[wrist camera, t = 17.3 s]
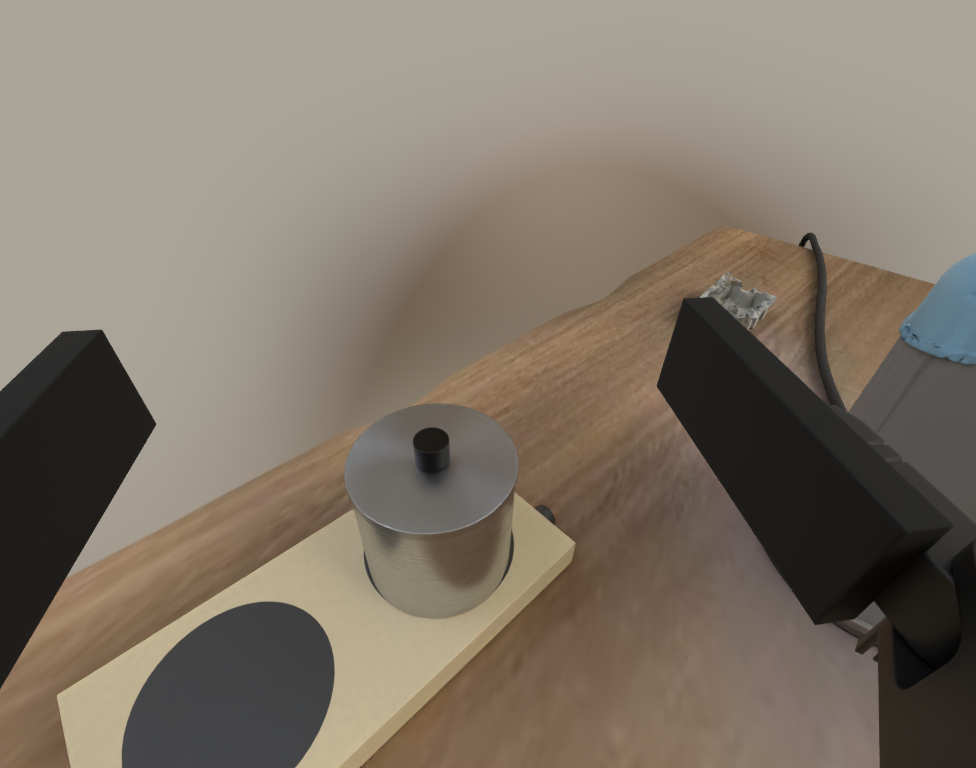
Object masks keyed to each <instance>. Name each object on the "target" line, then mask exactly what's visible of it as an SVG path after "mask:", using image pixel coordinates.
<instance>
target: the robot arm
mask: <svg viewBox="0 0 976 768" xmlns="http://www.w3.org/2000/svg"><path fill="white" fill-rule="evenodd" d="M808 240H810V243H811V246H812V249H813V251H814V253H815V256H816V260H817V266H818V296H817V304H816V317H815V344H816V355H817V362H818V366H819V371H820V375H821V378H822V382H823V385H824V388H825V390H826V393H827V395H828V398H829V400H830V403H831V405H827V404H826V403H824V402H823V401H822V400H821V399H820V398H819V397H818V396H817V395H816V394H815V393H814V392H813V391H812V390H811V389H810V388H809V387H808V386H806V385H805V384H804V383H803V382H802V381H801V380H800V379H799V378H798V377H797V376H796V375H795V374H794V373H793V372H792V371H791V370H790V369H789V368H787V367H786V366H785V365H784V364H783V363H782V362H781V361H780V360H779V359H778V358H777V357H776V356H775V355H774V354H773V353H772V352H771V351H769V350H768V349H767V348H766V347H765V346H764V345H763V344H762V343H761V342H760V341H759V340H758V339H757V338H756V337H755V336H754V335H753V334H751V333H750V332H749V331H748V330H747V329H746V328H745V327H744V326H743V325H742V324H741V323H740V322H739V321H738V320H737V319H736V318H735V317H734V316H732V315H731V314H730V313H729V312H728V311H727V310H726V309H725V308H724V307H723V306H722V305H721V304H720V303H719V302H718V301H717V300H716V299H714V298H713V297H703V298H684V299H683V302H682V306H681V309H680V312H679V315H678V318H677V322H676V325H675V328H674V331H673V335H672V338H671V341H670V344H669V348H668V351H667V354H666V357H665V361H664V364H663V367H662V370H661V374H660V377H659V380H658V383H657V387H658V389H659V390H660V392H661V393H662V395H663V396H664V398H665V399H666V401H667V402H668V404H669V405H670V407H671V408H672V410H673V411H674V413H675V415H676V416H677V418H678V419H679V421H680V422H681V424H682V425H683V427H684V428H685V430H686V431H687V433H688V434H689V436H690V437H691V439H692V440H693V442H694V443H695V445H696V446H697V448H698V449H699V451H700V452H701V454H702V455H703V457H704V458H705V460H706V461H707V463H708V464H709V466H710V467H711V469H712V470H713V472H714V473H715V475H716V476H717V478H718V479H719V481H720V482H721V484H722V485H723V487H724V488H725V490H726V491H727V493H728V494H729V496H730V497H731V499H732V500H733V502H734V503H735V505H736V507H737V508H738V510H739V511H740V513H741V514H742V516H743V517H744V519H745V520H746V522H747V523H748V525H749V526H750V528H751V529H752V531H753V532H754V534H755V535H756V537H757V538H758V540H759V541H760V543H761V544H762V546H763V547H764V549H765V550H766V552H767V553H768V555H769V557H770V559H771V560H772V562H773V563H774V565H775V566H776V568H777V569H778V570H779V572H780V573H781V574H782V576H783V577H784V579H785V580H786V582H787V583H788V585H789V586H790V588H791V589H792V591H793V592H794V594H795V595H796V597H797V599H798V600H799V602H800V603H801V605H802V606H803V608H804V609H805V611H806V612H807V614H808V615H809V617H810V618H811V620H812V621H813V623H814V624H815V625H818V624H825V623H832V622H834V623H836V624H837V625H839V626H840V627H842V628H843V629H845V630H847V631H849V632H850V633H852V634H854V635H856V636H857V637H859V638H861V639H860V640H858V643H857V646H856V649H855V651H856V652H858V653H860V654H863V653H865V652H866V651H867V650H868V649H869V648H871V647H872V646H873V645H876V646H878V654H877V655H876V656H875V657H874V658H873V660H874V661H876V662H878V683H879V744H880V768H976V253H975V254H973V255H970V256H968V257H966V258H964V259H962V260H960V261H959V262H957V263H956V264H954V265H953V266H952V267H950V268H949V269H948V270H947V271H946V272H945V273H944V274H943V275H942V276H941V278H940V279H939V280H938V282H937V283H936V284H935V286H934V287H933V288H932V290H931V291H930V292H929V294H928V295H927V296H926V298H925V299H924V300H923V302H922V303H921V304H920V306H919V307H918V308H917V310H916V311H914V312H913V313H911V314H910V315H909V316H908V317H907V318H906V319H905V320H904V321H903V323H902V325H901V327H900V329H899V332H900V334H901V336H900V337H899V339H898V340H897V342H896V343H895V344H894V346H893V347H892V349H891V350H890V352H889V353H888V355H887V356H886V358H885V359H884V361H883V362H882V364H881V365H880V366H879V368H878V369H877V371H876V372H875V374H874V375H873V377H872V378H871V380H870V381H869V383H868V384H867V385H866V387H865V388H864V390H863V391H862V393H861V394H860V396H859V397H858V399H857V400H856V402H855V403H854V405H853V406H852V407H851V409H850V410H849V412H847V410H846V408H845V406H844V404H843V402H842V400H841V397H840V395H839V393H838V391H837V388H836V386H835V383H834V380H833V378H832V375H831V371H830V368H829V364H828V360H827V354H826V345H825V332H824V322H825V302H826V268H825V263H824V258H823V254H822V252H821V249H820V247H819V245H818V242H817V238H816V236H815V235H814V234H813V233H807V234H806V235H805V236H804V237H803V238H802V240H801V242H800V243H799V245H798V246H801V247H805V244H806V242H807V241H808ZM155 426H156V423H155V421H154V419H153V417H152V416H151V414H150V412H149V410H148V409H147V407H146V405H145V404H144V402H143V400H142V398H141V397H140V395H139V393H138V391H137V390H136V388H135V386H134V384H133V383H132V381H131V379H130V377H129V376H128V374H127V372H126V371H125V369H124V367H123V365H122V364H121V362H120V360H119V358H118V357H117V355H116V353H115V351H114V350H113V348H112V346H111V345H110V343H109V341H108V339H107V338H106V336H105V334H104V332H103V331H102V330H87V331H70V332H69V331H68V332H62V333H61V334H60V335H59V336H58V337H56V338H55V339H54V340H53V341H52V342H51V343H50V344H49V345H48V346H47V347H46V348H45V349H44V350H43V351H42V352H41V353H40V354H39V355H38V356H37V357H36V358H35V359H33V360H32V361H31V362H30V363H29V364H28V365H27V366H26V367H25V368H24V369H23V370H22V371H21V372H20V373H19V374H18V375H17V376H16V377H15V378H14V379H13V380H12V381H11V382H9V384H7V385H6V386H5V387H4V388H3V389H2V390H1V391H0V688H1V687H2V685H3V683H4V682H5V680H6V678H7V677H8V675H9V673H10V671H11V670H12V668H13V666H14V665H15V663H16V661H17V660H18V658H19V656H20V655H21V653H22V651H23V649H24V648H25V646H26V644H27V643H28V641H29V639H30V638H31V636H32V634H33V632H34V631H35V629H36V627H37V626H38V624H39V622H40V621H41V619H42V617H43V616H44V614H45V612H46V610H47V609H48V607H49V605H50V604H51V602H52V600H53V599H54V597H55V595H56V594H57V592H58V590H59V588H60V587H61V585H62V583H63V582H64V580H65V578H66V577H67V575H68V573H69V571H70V570H71V568H72V566H73V565H74V563H75V561H76V560H77V558H78V556H79V554H80V553H81V551H82V549H83V548H84V546H85V544H86V543H87V541H88V539H89V538H90V536H91V534H92V533H93V531H94V529H95V527H96V526H97V524H98V522H99V521H100V519H101V517H102V516H103V514H104V512H105V510H106V509H107V507H108V505H109V504H110V502H111V500H112V499H113V497H114V495H115V494H116V492H117V490H118V489H119V487H120V485H121V483H122V482H123V480H124V478H125V477H126V475H127V473H128V472H129V470H130V468H131V467H132V465H133V463H134V461H135V460H136V458H137V456H138V455H139V453H140V451H141V450H142V448H143V446H144V444H145V443H146V441H147V439H148V437H149V436H150V434H151V433H152V431H153V429H154V428H155Z"/></svg>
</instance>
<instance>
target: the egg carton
mask: <svg viewBox="0 0 976 768" xmlns="http://www.w3.org/2000/svg"><path fill="white" fill-rule="evenodd" d="M730 273H731V272H728V273H727V274H724V275H723V276H722V277H721V278H720V279H719V280H718V281H717V282H716V284H715V285H714V286H712V287H710V288H709V290H708V291H707V292H705V293H704V294H702V295H701V297H700V298H703V297H713V298H714V299H716V300H717V301H718V302H719V303H720V304H721V305H722V306H723V307H724V308H725V309H726V310H727V311H728V312H729V313H730V314H731V315H732V316H734V317H735V318H736V319H737V320H738V321H739V322H740V323H741V324H742V325H743V326H744V327H745V328H746V329H747V330H748V331H749V328H752V329H753V328H754V327H755V326H756V324H757V321H758V319H763V318H764V316H765V314H766V312H767V310H768V307H770V306H771V305H772V304H773V303H774V301H775V300H776V299H777V297H776V296H771V295H769V294H768V293H767V292H765V293H760V292H758V291H757V290H756V288H752V290H751V292H749V291H746V290H742V282H741V281H740V280H739V279H736V278H733V277H731V276H730Z"/></svg>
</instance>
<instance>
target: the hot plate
mask: <svg viewBox="0 0 976 768" xmlns="http://www.w3.org/2000/svg"><path fill="white" fill-rule="evenodd" d="M554 524H555V517H554V515H553V513H552V512H551V511H550V510H549V509H548V508H547V507H546V506H544V505H539V506H537V507H536V508H535V509H534V508H533V507H532V506H531V505H530V504H528V503H527V502H526V501H525V500H524V499H522V498H521V497H520V496H519V495H518V494H516V493H515V494H514V506H513V518H512V530H511V542H510V554H509V561H508V566H507V569H506V572H505V574H504V576H503V579H502V581H501V582H500V584H499V585H498V587H497V588H496V589H495V591H494V592H493V593H492V594H491V595H490V596H489V597H488V598H487V599H486V600H484V601H483V602H482V603H481V604H479V605H478V606H476V607H475V608H473V609H471V610H469V611H467V612H464V613H461V614H459V615H456V616H451V617H446V618H423V617H418V616H413V615H411V614H408V613H405V612H403V611H401V610H399V609H397V608H396V607H394V606H393V605H391V604H390V603H389V602H388V601H387V600H386V599H385V598H384V597H383V596H382V595H381V594H380V592H379V591H378V590H377V588H376V586H375V584H374V582H373V580H372V577H371V574H370V570H369V567H368V563H367V559H366V555H365V551H364V547H363V543H362V540H361V536H360V532H359V528H358V524H357V520H356V516H355V512H354V509H352V510H351V511H349V512H347V513H346V514H344V515H343V516H341V517H339V518H338V519H336V520H335V521H333V522H331V523H330V524H328V525H327V526H325V527H324V528H322V529H320V530H319V531H317V532H316V533H314V534H312V535H311V536H309V537H308V538H306V539H304V540H303V541H301V542H300V543H298V544H296V545H295V546H293V547H292V548H290V549H289V550H287V551H285V552H284V553H282V554H281V555H279V556H277V557H276V558H274V559H273V560H271V561H269V562H268V563H266V564H265V565H263V566H261V567H260V568H258V569H257V570H255V571H254V572H252V573H250V574H249V575H247V576H246V577H244V578H242V579H241V580H239V581H238V582H236V583H234V584H233V585H231V586H230V587H228V588H226V589H225V590H223V591H222V592H220V593H219V594H217V595H215V596H214V597H212V598H211V599H209V600H207V601H206V602H204V603H203V604H201V605H199V606H198V607H196V608H195V609H193V610H191V611H190V612H188V613H187V614H185V615H184V616H182V617H180V618H179V619H177V620H176V621H174V622H172V623H171V624H169V625H168V626H166V627H164V628H163V629H161V630H160V631H158V632H156V633H155V634H153V635H152V636H150V637H148V638H147V639H145V640H144V641H142V642H141V643H139V644H137V645H136V646H134V647H133V648H131V649H129V650H128V651H126V652H125V653H123V654H121V655H120V656H118V657H117V658H115V659H113V660H112V661H110V662H109V663H107V664H106V665H104V666H102V667H101V668H99V669H98V670H96V671H94V672H93V673H91V674H90V675H88V676H86V677H85V678H83V679H82V680H80V681H78V682H77V683H75V684H74V685H72V686H71V687H69V688H67V689H66V690H64V691H63V692H61V693H59V694H58V695H57V701H58V706H59V711H60V716H61V721H62V726H63V732H64V737H65V742H66V747H67V752H68V757H69V762H70V767H71V768H360V767H361V766H362V765H363V764H364V763H365V762H366V761H367V760H368V759H369V758H370V757H371V756H372V755H373V754H374V753H375V752H376V751H377V750H378V749H379V748H380V747H381V746H382V745H384V744H385V743H386V742H387V741H388V740H389V739H390V738H391V737H392V736H393V735H394V734H395V733H396V732H397V731H398V730H399V729H400V728H401V727H402V726H403V725H404V724H405V723H406V722H407V721H408V720H409V719H410V718H411V717H412V716H413V715H414V714H415V713H417V712H418V711H419V710H420V709H421V708H422V707H423V706H424V705H425V704H426V703H427V702H428V701H429V700H430V699H431V698H432V697H433V696H434V695H435V694H436V693H437V692H438V691H439V690H440V689H441V688H442V687H443V686H444V685H445V684H446V683H447V682H448V681H449V680H451V679H452V678H453V677H454V676H455V675H456V674H457V673H458V672H459V671H460V670H461V669H462V668H463V667H464V666H465V665H466V664H467V663H468V662H469V661H470V660H471V659H472V658H473V657H474V656H475V655H476V654H477V653H478V652H479V651H480V650H481V649H482V648H483V647H485V646H486V645H487V644H488V643H489V642H490V641H491V640H492V639H493V638H494V637H495V636H496V635H497V634H498V633H499V632H500V631H501V630H502V629H503V628H504V627H505V626H506V625H507V624H508V623H509V622H510V621H511V620H512V619H513V618H514V617H515V616H516V615H518V614H519V613H520V612H521V611H522V610H523V609H524V608H525V607H526V606H527V605H528V604H529V603H530V602H531V601H532V600H533V599H534V598H535V597H536V596H537V595H538V594H539V593H540V592H541V591H542V590H543V589H544V588H545V587H546V586H547V585H548V584H549V583H550V582H552V581H553V580H554V579H555V578H556V577H557V576H558V575H559V574H560V573H561V572H562V571H563V570H564V569H565V568H566V567H567V566H568V565H569V564H570V563H571V561H572V557H573V553H574V548H575V544H576V543H575V542H574V541H573V540H571V539H570V538H569V537H568V536H567V535H565V534H564V533H563V532H562V531H561V530H559V529H558V528H557V527H556V526H555V525H554Z"/></svg>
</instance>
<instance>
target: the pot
mask: <svg viewBox="0 0 976 768" xmlns="http://www.w3.org/2000/svg"><path fill="white" fill-rule="evenodd" d="M517 476H518V455H517V451H516V448H515V445H514V443H513V441H512V439H511V438H510V436H509V435H508V433H507V432H506V431H505V429H504V428H503V427H501V426H500V425H499V424H498V423H497V422H496V421H494V420H493V419H492V418H490V417H488V416H487V415H485V414H483V413H481V412H479V411H476V410H474V409H471V408H467V407H463V406H459V405H453V404H439V403H437V404H423V405H417V406H412V407H408V408H405V409H401V410H398V411H396V412H394V413H391V414H389V415H387V416H385V417H383V418H381V419H380V420H378V421H377V422H375V423H374V424H372V425H371V426H370V427H369V428H367V429H366V430H365V431H364V432H363V433H362V434H361V435H360V436H359V438H358V439H357V440H356V442H355V443H354V444H353V446H352V448H351V450H350V452H349V454H348V457H347V460H346V464H345V470H344V479H345V485H346V489H347V493H348V496H349V499H350V501H351V503H352V505H353V509H354V512H355V516H356V520H357V524H358V528H359V532H360V536H361V540H362V543H363V547H364V551H365V555H366V559H367V563H368V567H369V570H370V574H371V577H372V580H373V582H374V584H375V586H376V588H377V590H378V591H379V592H380V594H381V595H382V596H383V597H384V598H385V599H386V600H387V601H388V602H389V603H390V604H391V605H393V606H394V607H396V608H397V609H399V610H401V611H403V612H405V613H408V614H411V615H413V616H418V617H423V618H446V617H451V616H456V615H459V614H461V613H464V612H467V611H469V610H471V609H473V608H475V607H476V606H478V605H479V604H481V603H482V602H483V601H484V600H486V599H487V598H488V597H489V596H490V595H491V594H492V593H493V592H494V591H495V589H496V588H497V587H498V585H499V584H500V582H501V581H502V579H503V576H504V574H505V572H506V569H507V566H508V561H509V554H510V542H511V530H512V518H513V506H514V494H515V486H516V482H517Z"/></svg>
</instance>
